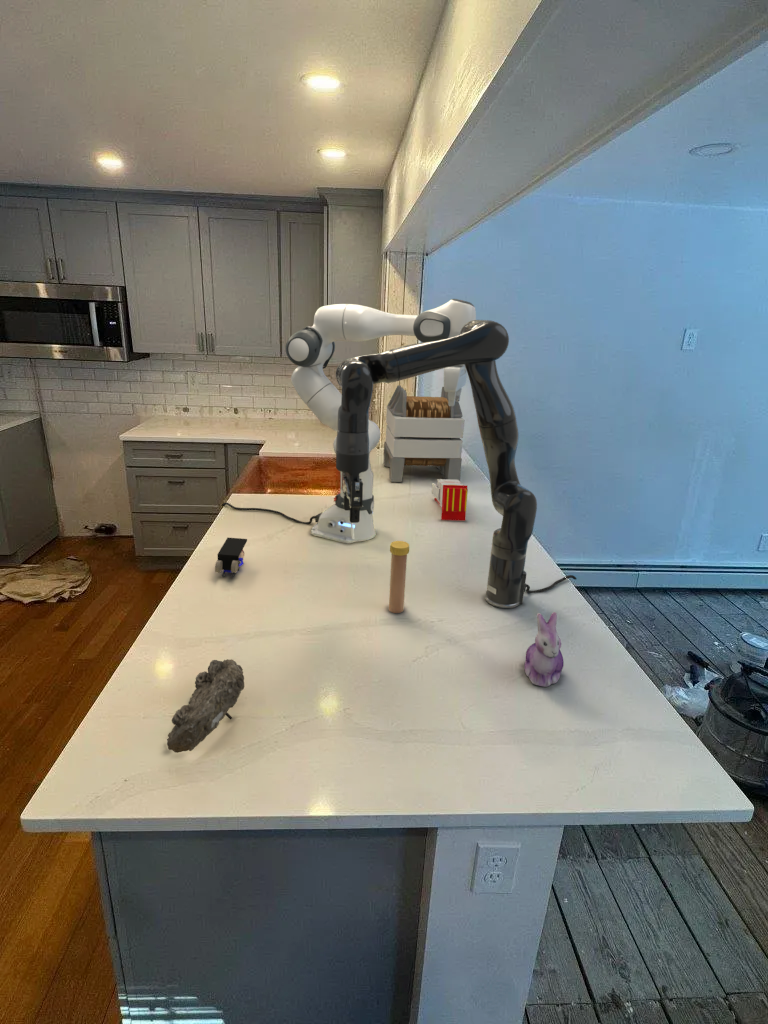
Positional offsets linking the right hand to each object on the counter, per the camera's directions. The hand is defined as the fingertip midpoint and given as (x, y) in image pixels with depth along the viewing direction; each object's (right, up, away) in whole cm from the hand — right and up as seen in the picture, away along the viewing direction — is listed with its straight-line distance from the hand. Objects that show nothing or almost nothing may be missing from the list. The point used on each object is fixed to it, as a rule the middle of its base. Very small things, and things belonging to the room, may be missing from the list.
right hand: (351, 515), depth 135 cm
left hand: (+29, +34, +39) cm, 60 cm away
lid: (+12, -8, +8) cm, 16 cm away
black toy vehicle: (-37, -16, +32) cm, 52 cm away
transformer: (+25, +20, +140) cm, 143 cm away
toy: (+34, +2, +92) cm, 98 cm away
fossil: (-25, -38, -27) cm, 53 cm away
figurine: (+43, -35, -10) cm, 56 cm away
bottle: (+11, -25, +14) cm, 31 cm away
